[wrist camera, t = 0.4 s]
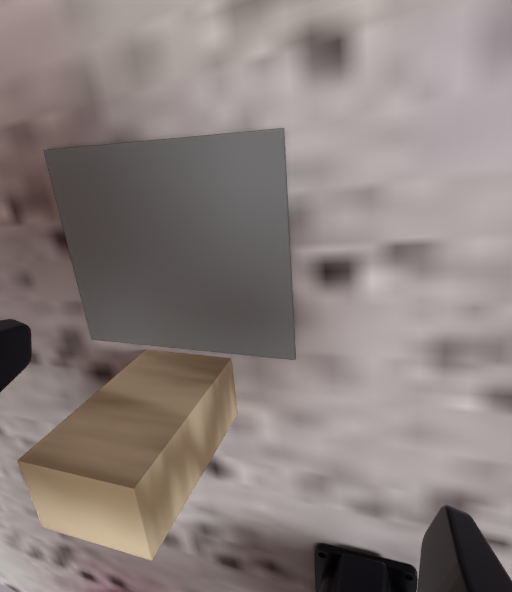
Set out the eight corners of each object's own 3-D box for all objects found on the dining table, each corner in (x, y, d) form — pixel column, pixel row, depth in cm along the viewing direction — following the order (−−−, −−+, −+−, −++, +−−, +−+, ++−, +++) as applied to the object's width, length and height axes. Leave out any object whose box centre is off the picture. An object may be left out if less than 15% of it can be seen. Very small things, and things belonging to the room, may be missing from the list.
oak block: (237, 413, 26) (151, 560, 17) (156, 401, 28) (42, 527, 19) (231, 358, 24) (133, 488, 16) (145, 349, 26) (17, 460, 18)
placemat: (295, 358, 23) (294, 360, 23) (93, 338, 27) (91, 339, 27) (284, 128, 19) (282, 128, 18) (46, 150, 23) (43, 150, 23)
